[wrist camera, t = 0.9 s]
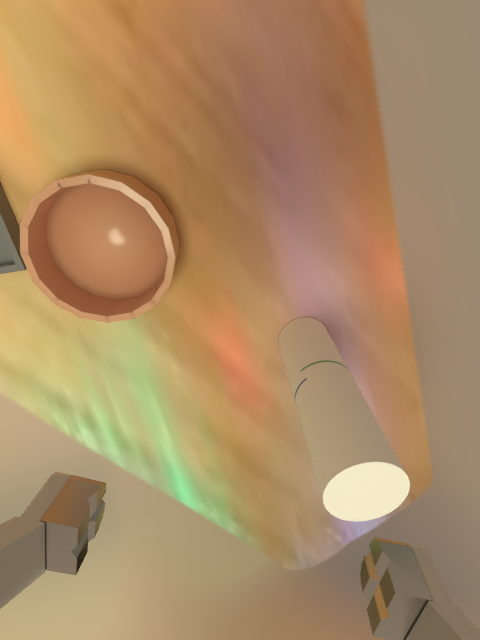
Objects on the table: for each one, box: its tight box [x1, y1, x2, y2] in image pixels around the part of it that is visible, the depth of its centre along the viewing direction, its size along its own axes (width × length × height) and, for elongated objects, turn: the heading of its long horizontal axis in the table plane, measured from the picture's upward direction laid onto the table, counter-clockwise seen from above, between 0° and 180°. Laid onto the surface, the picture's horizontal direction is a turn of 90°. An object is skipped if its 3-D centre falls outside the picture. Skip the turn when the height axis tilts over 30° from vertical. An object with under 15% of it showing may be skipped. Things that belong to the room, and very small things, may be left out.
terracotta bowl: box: [20, 169, 180, 323], centre depth 42 cm, size 16×16×6 cm
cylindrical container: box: [278, 317, 410, 521], centre depth 41 cm, size 7×7×25 cm
